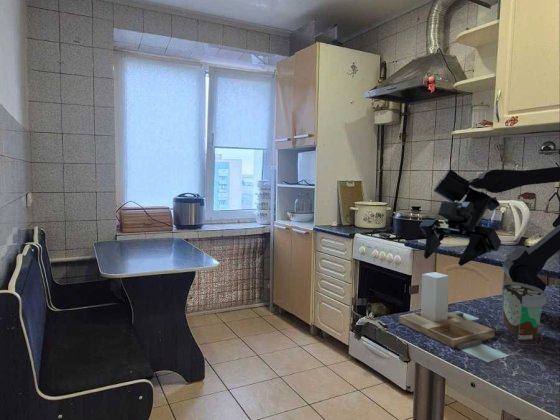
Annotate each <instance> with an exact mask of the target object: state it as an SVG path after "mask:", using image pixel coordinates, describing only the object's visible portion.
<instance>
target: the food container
mask: <svg viewBox="0 0 560 420" xmlns="http://www.w3.org/2000/svg"><path fill="white" fill-rule="evenodd" d="M501 290H502V325H504V326H505V328H506V329H507V330H508V331H510V333H511V334H512V335H513V337H515V338H516V340H517V341H519V342H520V341H521V342H529V341H533V340H537V338H538V337H539V336H538V335H539V330H540V329H539V328H540V324H541V317H542V315H541V310H542V308H543V306H545V305H547V298H546V295H545V293H544V292H545V291H544V292H543V291H542V290H541V289H539V288H537V287H534V286H530V285H526V284H522V283H515V282H512V281H504V280H503V282H502V288H501Z"/></svg>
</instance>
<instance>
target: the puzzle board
mask: <svg viewBox="0 0 560 420" xmlns="http://www.w3.org/2000/svg"><path fill="white" fill-rule="evenodd" d="M476 320H480V318H479V317H476V316H473V315H471V314H468V313H465V312H462V311H460V310H456V311H451V312H449V311H448V316H447V320H443V321H439V322H432V321H430V320H427V319H425V318H423V317H421V311H416V312H413V313H412V312H411V313H407V314H402V315H398V323H399V324H400V325H403V326H406V327H408V328H410V329H412V330H414V331H416V332H419V333H421V334H422V335H425V336H427V337H429V338H431V339H433V340H435V341H438V342H440V343H442V344H444V345H446V346H448V347H451V348H453V349H454V348H456V349H458V350H460V351H462V352H463V353H466V354H468V355H471V356H472V357H475V358H477V359H479V360H481V361H484V362H486V363H489V362H490V363H491V362H494V361H497V360H500V359H504V358H506V357H510V355H509V354H506V353H504V352H502V351H501V350H500V351H499V350H497V349H494V348H492V347H490V346H488V345H485V344H483V342H482V341H484V340H488V339H493V338H495V332H496V331H495V330H496V329H495V328H491V327H488V326H486V325H484V324H480V323H479V322H475V321H476Z"/></svg>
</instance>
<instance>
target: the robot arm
mask: <svg viewBox="0 0 560 420" xmlns="http://www.w3.org/2000/svg"><path fill="white" fill-rule="evenodd" d="M551 183H560V166H549V167H542V168H533V169H523V170H519V169H518V170H516V169H500V168H499V169H496V168H495V169H487V170H485V171H483V172H482V173H481V174H480V176H479V177H474V178H470V180H469V179H466V178H464V177H463V176H462V175H459V174H458V173H457V172H456V171H455V170H453V169H449V170H448V171H447V172H446V173H445V174H444V176H443V177H442V179H441V178H440V179H439V181H438V182H437V184H436V186H435V187H434V189H433V192H434V193H436V194H438V195H439V196H441V197H443V198H444V199H445V200H447V201H441V203H440V206H439V209H438V212H437V215H438V216H441V217H443V218H444V220H443V222H444V223H445V225H447V226H442V225H441V223H440V222H439V220H433V219H431V220H430V219H422V221H421V223H420V225H419V226H418V227H419V228H420V230H421V231H422V234H423V235H424V236H425V247H424V252H423V257H424V259H426V260H428V259H429V258H430V257H431V256H432V255H433V253H434V252H436V251H437V249H438V248H439V247H440V246H441V245H442V242H441V241H443V240H444V239H445V236H446V237H452V238H453V237H454V238H457V239H463V240H467V241H468V240H469V241H468V244H467V245H466V247H465V249H464V251H463V252H462V254H461V255H460V258H459V261H458V262H457V263H458V266H459V267H462V266H464V265H466V264H467V263H469V262H471V261H472V260H475V259H477V258H478V257H480V256H482V255H485V254H487V253H488V254H490V253H491V252H492V251H493V252H497V251H499V249H500V247H501V245H502V240H501V239H500V236H499V235H498V233H497V231H496V229H495V228H494V226H487V225H483V222H482V219H483V217H484V215H485V214H486V212H487V210H489V211H491V212H493V211H495V210H496V209H497V208H499V207H500V205H501V204H500V202H499V201H498V200H497V197H495V196H494V197H493V196H491V195H488V194H487V193H491V194H499V193H502V192H507V191H510V190H511V191H512V190H514V189H517V188H521V187H524V186H531V185H540V184H551ZM480 189H481V190H483V191H478V190H480ZM485 192H487V193H485ZM464 197H465V198H464ZM462 200H463V201H462ZM455 201H457V202H455ZM461 201H462V203H458V202H461ZM559 251H560V224H558V225H556V227H554V228H553V229H552V230H550V231H549V232H548V233H547V234H546V235H544V236H543V237H542V238H541V239H539V240H538V241H537V242H536V243H535V244H533V245H532V246H530V247H527V248H523V247H522V246H520V245H519V246H517V247H515V249H514V250H513V251H512V252H511V253H510V254H506V255H505V257H506V259H505V260H504V261H503V264H502V269H503V272H504V273H505V275H506V276H507V277H508V278H509V279H510V280H511V282H515V283H522V284H526V285H530V286H534V287H537V288H539V289H541V290H542V291H543V292H545V290H546V288H547V284H546V283H545V282H544V281H543V280H542V279H541V278H540V277H539V276H538V275H539V274H540V273H541V272H542V271H543V269H544V267H545V265H546V264H547V261H549V259H551V258H552V257H553V256H554V255H556V254H557V253H558V252H559ZM545 314H547V311H546V310H541V316H542V315H545Z"/></svg>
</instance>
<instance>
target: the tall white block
mask: <svg viewBox="0 0 560 420" xmlns="http://www.w3.org/2000/svg"><path fill="white" fill-rule="evenodd" d="M421 276H422V277H421V297H420V298H421V300H420V303H421V304H420V312H421V317H423V318H425V319H427V320H430V321H432V322H439V321H443V320H447V316H448V312H449V311H448V310H449V309H448V308H449V289H450V288H449V285H450V275H447V274H443V273H440V272H436V271H434V272H427V273H422V274H421Z"/></svg>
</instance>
